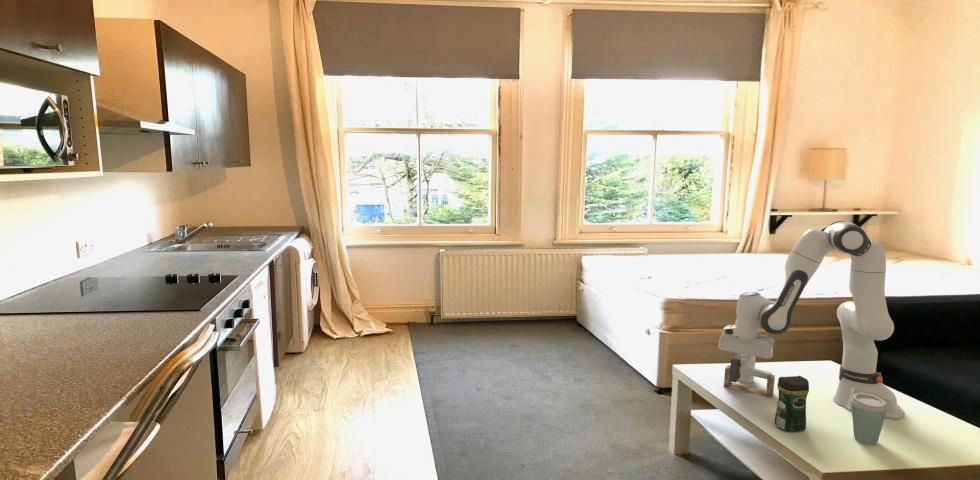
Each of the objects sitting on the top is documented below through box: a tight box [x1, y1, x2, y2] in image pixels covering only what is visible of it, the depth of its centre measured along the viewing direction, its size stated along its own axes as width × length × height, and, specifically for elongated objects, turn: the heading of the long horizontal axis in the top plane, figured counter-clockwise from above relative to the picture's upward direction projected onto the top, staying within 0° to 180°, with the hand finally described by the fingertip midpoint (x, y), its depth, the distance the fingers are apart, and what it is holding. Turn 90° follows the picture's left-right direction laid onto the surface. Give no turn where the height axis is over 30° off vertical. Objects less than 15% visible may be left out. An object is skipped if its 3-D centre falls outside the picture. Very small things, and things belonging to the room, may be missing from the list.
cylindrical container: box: [738, 354, 757, 383], centre depth 242 cm, size 7×7×25 cm
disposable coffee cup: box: [850, 393, 888, 446], centre depth 190 cm, size 11×11×15 cm
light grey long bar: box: [728, 363, 773, 380], centre depth 231 cm, size 16×3×3 cm, turn 54°
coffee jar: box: [774, 375, 810, 433], centre depth 199 cm, size 10×8×19 cm
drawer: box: [723, 364, 776, 398], centre depth 231 cm, size 18×4×8 cm, turn 54°
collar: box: [729, 354, 742, 383], centre depth 234 cm, size 2×8×9 cm, turn 144°
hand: (743, 364), depth 232 cm, fingers closed
